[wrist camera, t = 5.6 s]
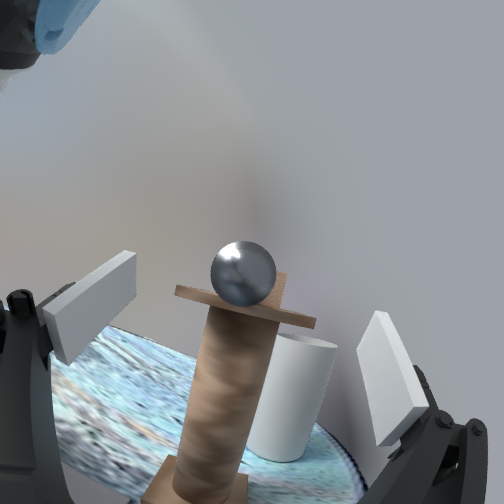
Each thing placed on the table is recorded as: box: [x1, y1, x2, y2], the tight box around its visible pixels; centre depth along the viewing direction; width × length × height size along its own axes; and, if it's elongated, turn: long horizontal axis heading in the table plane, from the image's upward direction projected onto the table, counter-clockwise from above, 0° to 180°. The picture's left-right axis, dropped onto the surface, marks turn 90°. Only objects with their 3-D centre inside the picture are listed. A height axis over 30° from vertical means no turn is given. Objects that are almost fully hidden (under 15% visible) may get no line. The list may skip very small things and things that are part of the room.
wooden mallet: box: [211, 241, 287, 309], centre depth 25 cm, size 24×7×4 cm, turn 179°
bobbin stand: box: [141, 285, 316, 504], centre depth 28 cm, size 13×13×30 cm
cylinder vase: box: [246, 332, 338, 462], centre depth 48 cm, size 12×12×25 cm
